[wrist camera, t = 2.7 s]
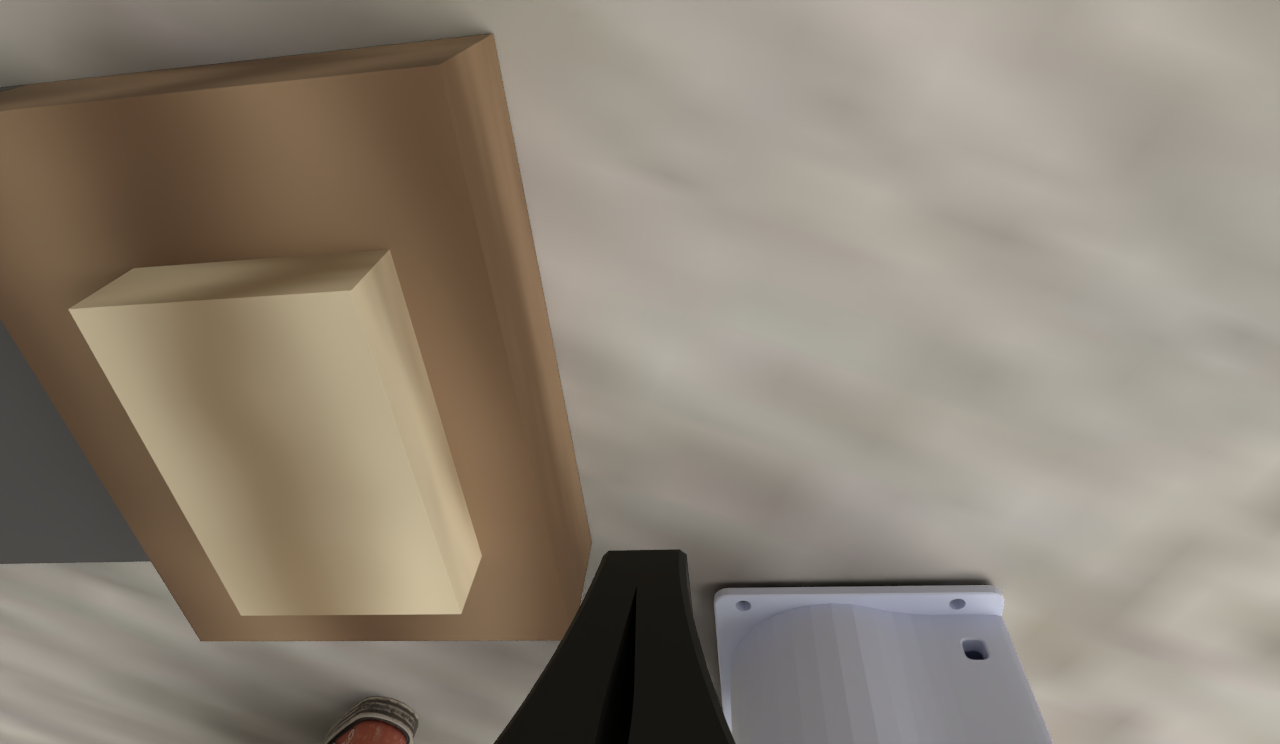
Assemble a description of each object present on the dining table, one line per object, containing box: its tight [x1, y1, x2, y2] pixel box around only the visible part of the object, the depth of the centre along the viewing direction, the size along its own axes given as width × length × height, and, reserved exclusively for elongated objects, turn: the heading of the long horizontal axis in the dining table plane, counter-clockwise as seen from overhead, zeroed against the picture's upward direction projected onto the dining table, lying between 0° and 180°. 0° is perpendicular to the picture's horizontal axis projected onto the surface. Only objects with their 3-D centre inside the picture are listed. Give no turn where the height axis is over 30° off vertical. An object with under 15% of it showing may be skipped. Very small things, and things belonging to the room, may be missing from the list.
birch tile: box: [68, 249, 482, 616], centre depth 18 cm, size 6×9×2 cm, turn 6°
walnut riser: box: [0, 34, 592, 641], centre depth 20 cm, size 12×16×4 cm
